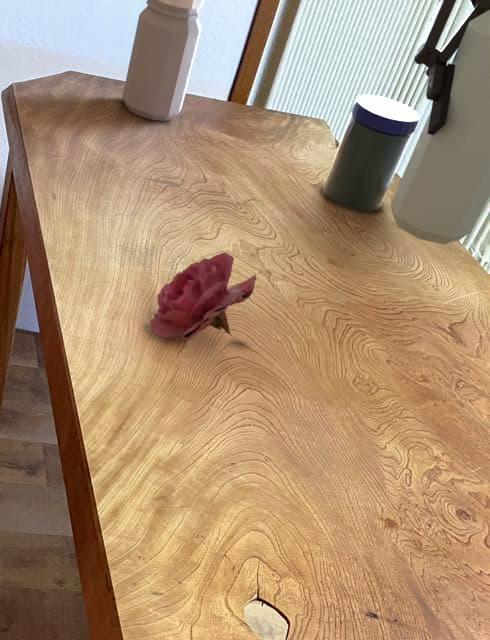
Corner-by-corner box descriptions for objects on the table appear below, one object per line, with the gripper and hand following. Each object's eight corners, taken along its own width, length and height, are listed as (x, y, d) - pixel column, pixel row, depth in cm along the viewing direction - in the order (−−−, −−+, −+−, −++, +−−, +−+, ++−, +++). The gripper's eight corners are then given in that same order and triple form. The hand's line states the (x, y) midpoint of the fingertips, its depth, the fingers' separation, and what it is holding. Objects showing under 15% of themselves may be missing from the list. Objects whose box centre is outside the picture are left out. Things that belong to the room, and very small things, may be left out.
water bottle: (370, 206, 110) (467, -25, 92) (436, 209, 113) (542, -14, 96) (413, 247, 103) (526, 7, 86) (482, 248, 107) (604, 17, 89)
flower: (138, 363, 98) (125, 269, 95) (198, 348, 104) (186, 259, 102) (218, 357, 90) (205, 253, 87) (278, 341, 96) (268, 244, 93)
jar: (191, 122, 145) (223, -2, 132) (141, 123, 140) (170, -5, 127) (158, 97, 150) (186, -24, 137) (109, 98, 145) (134, -28, 133)
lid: (426, 136, 126) (433, 122, 125) (376, 135, 123) (381, 120, 121) (388, 109, 132) (393, 95, 130) (338, 107, 128) (343, 93, 127)
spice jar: (391, 211, 134) (430, 125, 125) (344, 212, 130) (380, 124, 122) (357, 183, 139) (392, 99, 131) (311, 183, 136) (343, 97, 127)
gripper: (584, -19, 103) (553, 173, 102) (402, -62, 101) (369, 133, 101) (630, -62, 95) (596, 144, 95) (434, -110, 93) (399, 100, 93)
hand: (479, 138), depth 98 cm, fingers closed on water bottle, 9 cm apart
